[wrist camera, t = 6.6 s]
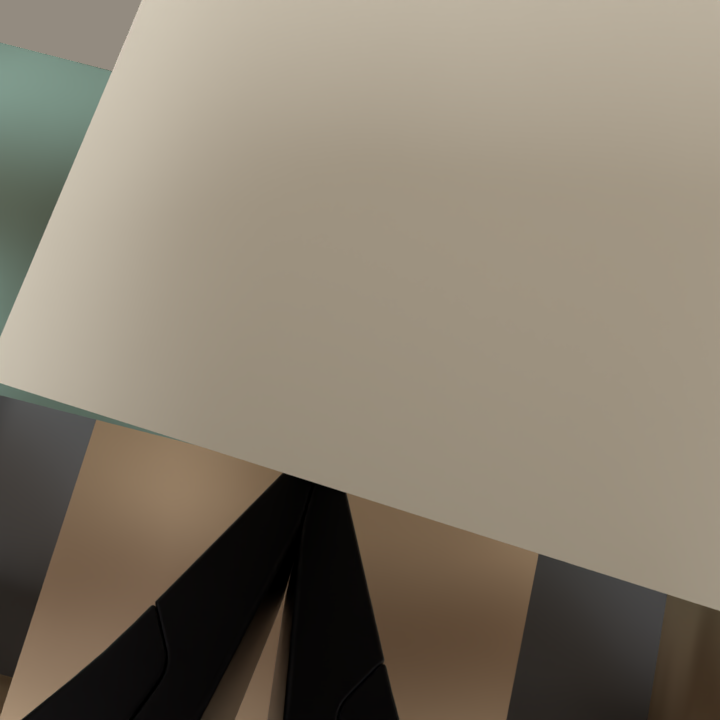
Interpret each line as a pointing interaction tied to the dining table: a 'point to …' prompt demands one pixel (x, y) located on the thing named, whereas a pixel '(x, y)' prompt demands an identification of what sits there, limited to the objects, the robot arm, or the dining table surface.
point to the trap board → (242, 487)
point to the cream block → (411, 262)
